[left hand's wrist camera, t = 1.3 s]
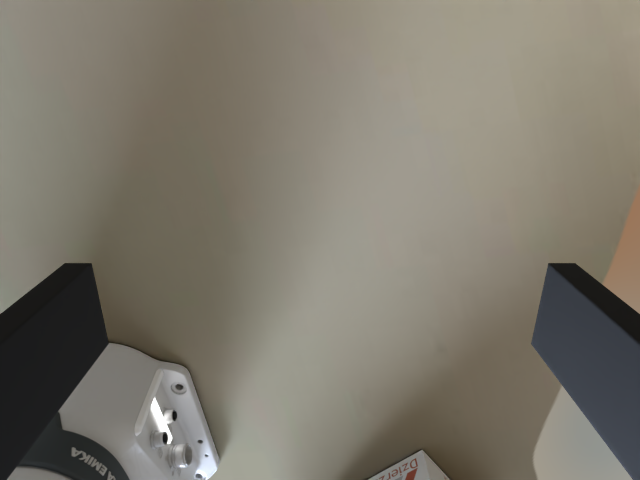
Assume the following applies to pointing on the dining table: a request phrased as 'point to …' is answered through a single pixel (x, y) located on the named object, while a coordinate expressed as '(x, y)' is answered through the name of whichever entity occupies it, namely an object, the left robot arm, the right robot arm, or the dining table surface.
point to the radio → (413, 469)
